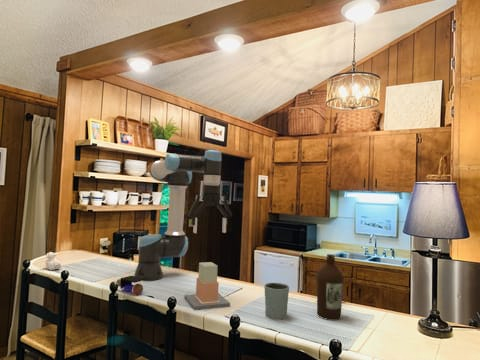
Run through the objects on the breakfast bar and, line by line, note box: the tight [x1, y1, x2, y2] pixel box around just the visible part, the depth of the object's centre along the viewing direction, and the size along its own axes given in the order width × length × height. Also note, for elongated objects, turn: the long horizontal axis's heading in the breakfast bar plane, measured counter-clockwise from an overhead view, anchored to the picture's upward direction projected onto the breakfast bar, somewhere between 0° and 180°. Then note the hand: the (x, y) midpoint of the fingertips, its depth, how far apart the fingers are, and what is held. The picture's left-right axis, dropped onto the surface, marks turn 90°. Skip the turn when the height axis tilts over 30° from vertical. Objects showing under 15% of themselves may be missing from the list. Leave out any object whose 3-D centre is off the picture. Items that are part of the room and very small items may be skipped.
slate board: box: [184, 292, 231, 311], centre depth 152 cm, size 16×16×2 cm
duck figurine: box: [45, 251, 62, 271], centre depth 198 cm, size 12×8×11 cm
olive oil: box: [316, 253, 344, 320], centre depth 142 cm, size 11×11×25 cm
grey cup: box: [264, 282, 290, 320], centre depth 139 cm, size 10×10×12 cm
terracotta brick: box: [195, 277, 220, 303], centre depth 152 cm, size 10×7×8 cm
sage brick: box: [197, 261, 218, 283], centre depth 152 cm, size 8×6×7 cm
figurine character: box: [116, 275, 146, 296], centre depth 162 cm, size 7×8×15 cm
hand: (209, 232), depth 153 cm, fingers open, 13 cm apart
